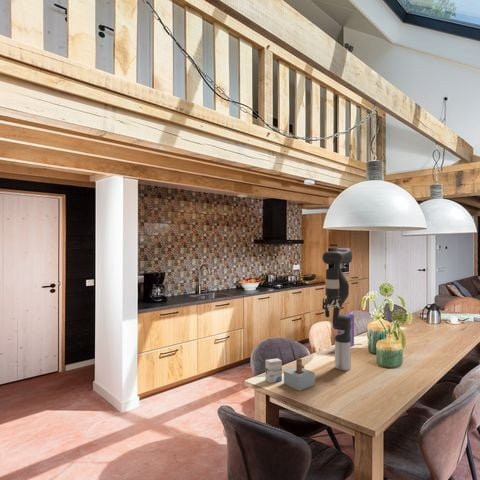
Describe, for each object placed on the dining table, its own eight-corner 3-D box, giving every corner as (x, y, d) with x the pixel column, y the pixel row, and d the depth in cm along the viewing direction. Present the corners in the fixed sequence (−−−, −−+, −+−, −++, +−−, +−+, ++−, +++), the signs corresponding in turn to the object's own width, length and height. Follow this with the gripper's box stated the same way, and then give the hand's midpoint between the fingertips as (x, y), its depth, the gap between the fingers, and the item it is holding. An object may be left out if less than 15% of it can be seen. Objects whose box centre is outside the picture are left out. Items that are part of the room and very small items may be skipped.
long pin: (302, 384, 196) (303, 359, 196) (299, 386, 194) (299, 360, 194) (298, 382, 198) (299, 358, 198) (295, 384, 196) (295, 359, 197)
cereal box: (343, 350, 259) (343, 317, 259) (337, 349, 262) (337, 316, 263) (354, 345, 272) (354, 314, 272) (348, 344, 275) (348, 313, 275)
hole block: (298, 378, 205) (298, 366, 205) (314, 385, 195) (314, 372, 195) (283, 383, 197) (283, 371, 197) (299, 390, 188) (299, 377, 188)
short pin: (301, 374, 211) (301, 364, 211) (305, 375, 209) (305, 365, 209) (298, 375, 209) (298, 365, 210) (301, 377, 207) (302, 366, 207)
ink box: (278, 377, 206) (278, 357, 206) (282, 381, 201) (282, 360, 201) (264, 379, 203) (265, 359, 203) (268, 383, 198) (268, 362, 198)
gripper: (329, 288, 190) (329, 318, 190) (345, 286, 199) (345, 315, 198) (318, 287, 196) (318, 316, 196) (334, 285, 204) (334, 313, 204)
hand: (332, 316), depth 197 cm, fingers open, 8 cm apart
